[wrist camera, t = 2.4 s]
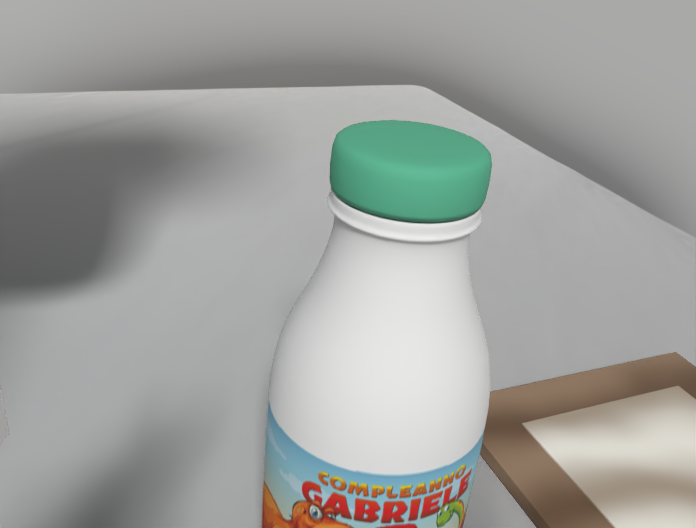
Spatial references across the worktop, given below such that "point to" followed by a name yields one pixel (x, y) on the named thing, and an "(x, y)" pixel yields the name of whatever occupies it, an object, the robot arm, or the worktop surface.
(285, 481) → the milk bottle
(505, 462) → the writing board
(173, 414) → the worktop surface
